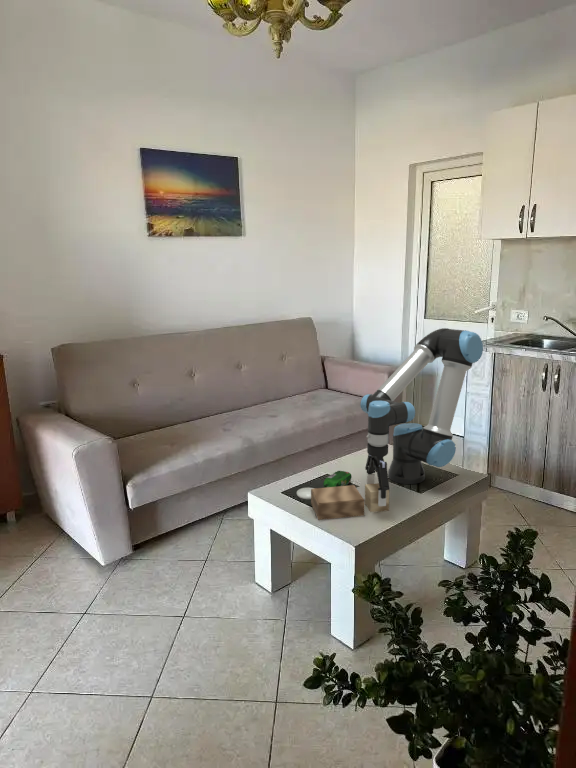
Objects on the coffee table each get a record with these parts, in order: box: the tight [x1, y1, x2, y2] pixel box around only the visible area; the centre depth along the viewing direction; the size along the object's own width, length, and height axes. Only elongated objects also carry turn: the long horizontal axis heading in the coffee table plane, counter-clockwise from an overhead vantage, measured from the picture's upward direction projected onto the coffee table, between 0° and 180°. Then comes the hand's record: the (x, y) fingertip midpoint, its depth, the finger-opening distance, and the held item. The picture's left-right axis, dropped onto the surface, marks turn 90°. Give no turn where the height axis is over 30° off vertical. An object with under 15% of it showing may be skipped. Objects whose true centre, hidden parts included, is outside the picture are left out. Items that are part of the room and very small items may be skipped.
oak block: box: [364, 482, 390, 513], centre depth 197 cm, size 7×7×8 cm
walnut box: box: [310, 484, 365, 521], centre depth 196 cm, size 17×13×6 cm
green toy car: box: [322, 470, 353, 488], centre depth 216 cm, size 7×16×5 cm, turn 145°
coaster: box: [296, 487, 315, 500], centre depth 210 cm, size 9×9×1 cm
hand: (376, 497), depth 197 cm, fingers open, 13 cm apart
